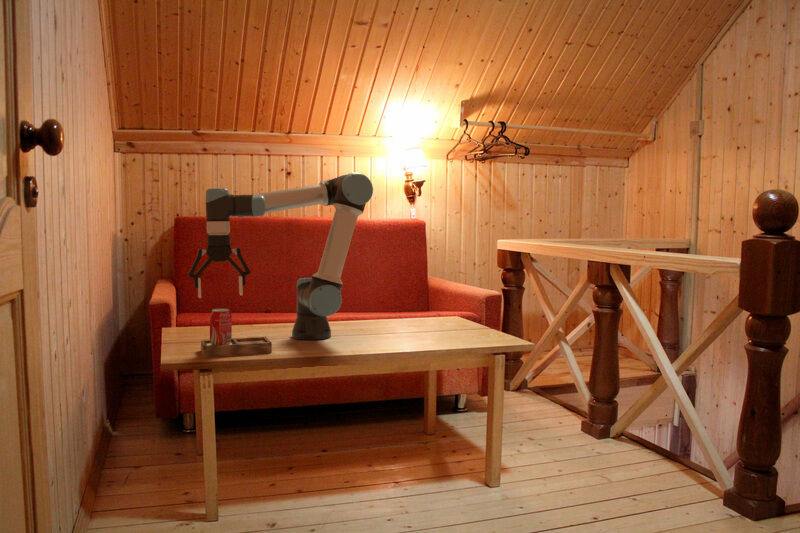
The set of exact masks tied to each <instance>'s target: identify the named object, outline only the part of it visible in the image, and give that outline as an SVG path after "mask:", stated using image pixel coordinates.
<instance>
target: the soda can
mask: <svg viewBox="0 0 800 533" xmlns="http://www.w3.org/2000/svg"><path fill="white" fill-rule="evenodd" d="M232 323H233V322H232V312H230V309H229V308H214V309H211V313H210V314H209V340H210V343H211V344H212V345H213V346H216V345H229V344H230V343H231V339H233V337H232V333H233V332H232V331H233V330H232V329H233V328H232V326H233V324H232Z"/></svg>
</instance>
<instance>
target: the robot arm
mask: <svg viewBox="0 0 800 533" xmlns="http://www.w3.org/2000/svg"><path fill="white" fill-rule="evenodd" d="M373 194H374V187H373V183H372V181H371V179H370V178H369V177H368V176H367V175H365V174H363V173H361V172H349V173H348V174H344V175H339V176H337V177H335V178H331V179H328V180H323V181H322V180H321V181H320V182H319V183H318V184H313V185H308V186H301V187H294V188H293V187H291V188H287V189H281V190H275V191H267V192H260V193H254V194H230V190H229V189H227V188H223V187H222V188H220V187H218V188H217V187H215V188H214V187H213V188H207V189H206V190H205V203H204V204H205V214H206V216H205V219H206V233H207V234H208V235H207V236H206V245H207V246H206V249H201V248H198V249H197V255H196V257H195V259H194V261H193V263H192V266H191V268H190V269H189V272H188V274H187V275H188V277H189V278H193V284H194V285H193V286H194V289H197V292H198V293H197V297H198V299H202V284H201V283H202V281H201V277H200V276H201V275H202V274H203V272H205V270H206V269H207V268H208V266H209V265H210V264H212V262H215V263H219V262H222V263H223V262H224V263H225V262H226V261H227V262H228V263H229V264H230V265H231V266H232V267H233V269H235V270H236V272H237V273H238V274H239V275H238V292H239V295H240V296H244V292H243V291H244V290H243V288H244V287H243V286H246V283H247V282H246V277H247V275H248V276H249V275H251V270H250V268H249V266H248V264H247V263H246V260H245V259H244V258H243V255H242V252H241V249H240V248H239V247H236V248H232V247H231V235H230V233H231V226H230V218H231V217H232V218H233V217H237V218H247V217H249V218H250V217H252V218H253V217H254V218H256V217H264V215H265V214H267V213H268V214H269V213H274V212H281V211H287V210H292V209H299V208H300V209H301V208H305V207H311V206H318V205H323V206H324V207H327V206H328V207H329V206H333V207H334V209H335V210H334V214H333V218H332V221H331V224H330V228H329V232H328V234H327V239H326V241H325V246H324V249H323V253H322V257H321V259H320V264H319V266H318V270H317V272H315V273H314V274H312V276H311V277H304V278H298V280H297V281H296V288H295V289H296V317H295V321H294V323H293V324H294V325H293V327H292V330H291V337H292V338H293V339H295V340H307V341H315V340H317V341H319V340H325V339H329V338H331V337H332V329H331V327H330V322H329V321H328V317H330V316H332V315H334V314H335V313H337V312H338V311H339V310H340V308H341V305H342V303H343V297H342V294H341V292H342V289H343V286H344V284H343V281H342V279H341V276H342V273H343V270H344V267H345V263H346V259H347V255H348V254H349V253H348V252H349V249H350V246H351V245H350V244H351V242H352V238H353V235H354V231H355V228H356V224H357V222H358V217H360V216H361V215H362V214H364V211H365V208H366V204H367V203H368V202H369V201H370V200H371V199H372V197H373ZM205 254H207V256H208V257H207V258H206V260H205V261H204V263H203V264H202V265H201V266H200V267H199V268H198V270H197V271H196V269H197V267H198V265H199V263H200V260H201V259H202V256H204V255H205ZM232 254H234V255H236V257H237V259H238V261H239V263H240V264H241V266H242V268H243V269H244V271H243V269H241V267H240V266H238V264H237V263H236V262H235V261H234V260H233V259H232V258H231V257H230V256H231V255H232ZM195 271H196V272H195Z"/></svg>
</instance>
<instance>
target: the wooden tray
mask: <svg viewBox="0 0 800 533" xmlns="http://www.w3.org/2000/svg"><path fill="white" fill-rule="evenodd" d="M272 345H273V343H272V341H271V340H270V339H269V338H268V337H267V336H257V337H256V336H255V337H251V336H250V337H238V338H231V343H230V344H229V345H216V346H213V345H212V344H211V343H210V339H204V340H200V352H201V355H202V357H203V358H216V357H217V358H218V357H228V356H229V357H230V356H231V357H233V356H243V355H245V356H246V355H259V354H260V355H261V354H271V353H272V350H273V349H272V348H273V346H272Z"/></svg>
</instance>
